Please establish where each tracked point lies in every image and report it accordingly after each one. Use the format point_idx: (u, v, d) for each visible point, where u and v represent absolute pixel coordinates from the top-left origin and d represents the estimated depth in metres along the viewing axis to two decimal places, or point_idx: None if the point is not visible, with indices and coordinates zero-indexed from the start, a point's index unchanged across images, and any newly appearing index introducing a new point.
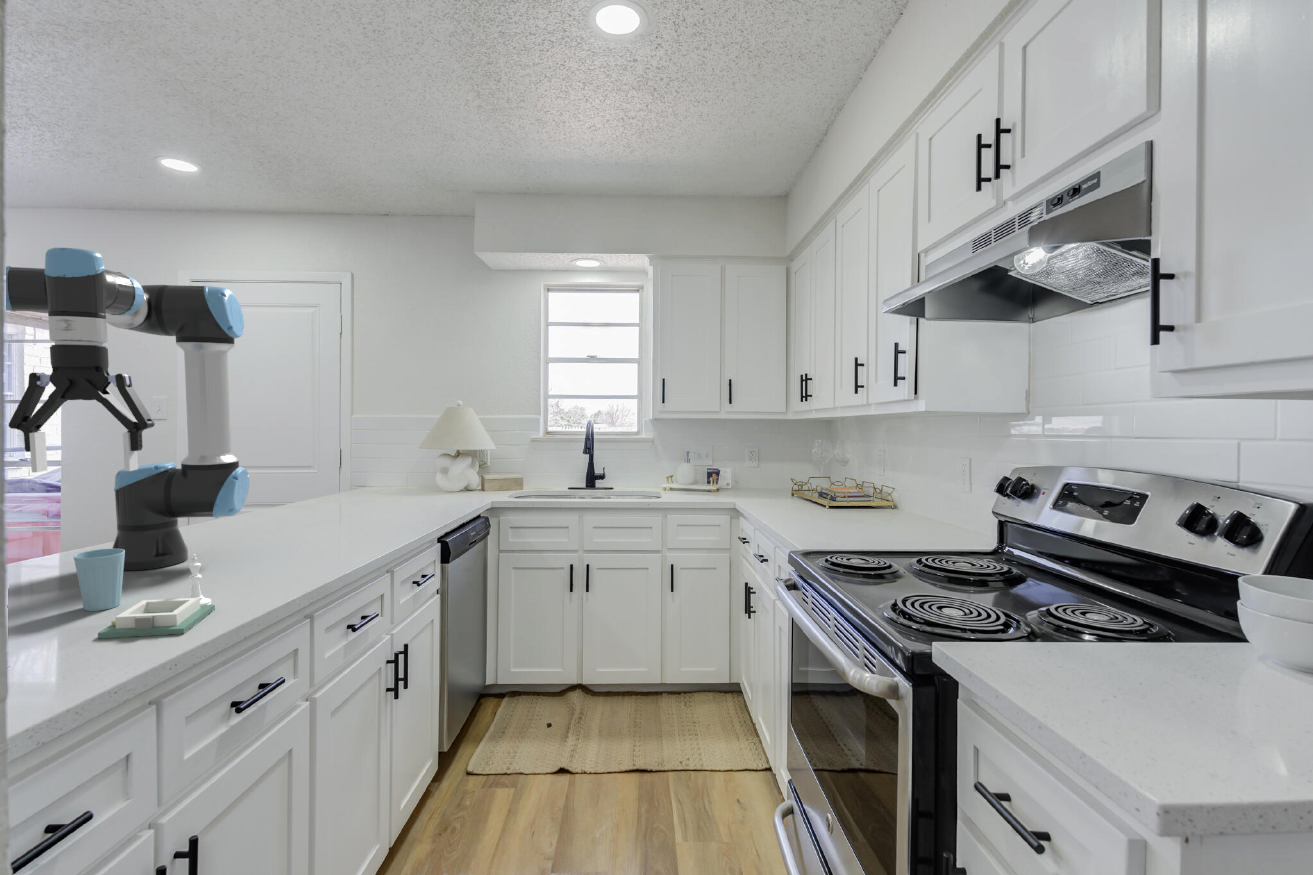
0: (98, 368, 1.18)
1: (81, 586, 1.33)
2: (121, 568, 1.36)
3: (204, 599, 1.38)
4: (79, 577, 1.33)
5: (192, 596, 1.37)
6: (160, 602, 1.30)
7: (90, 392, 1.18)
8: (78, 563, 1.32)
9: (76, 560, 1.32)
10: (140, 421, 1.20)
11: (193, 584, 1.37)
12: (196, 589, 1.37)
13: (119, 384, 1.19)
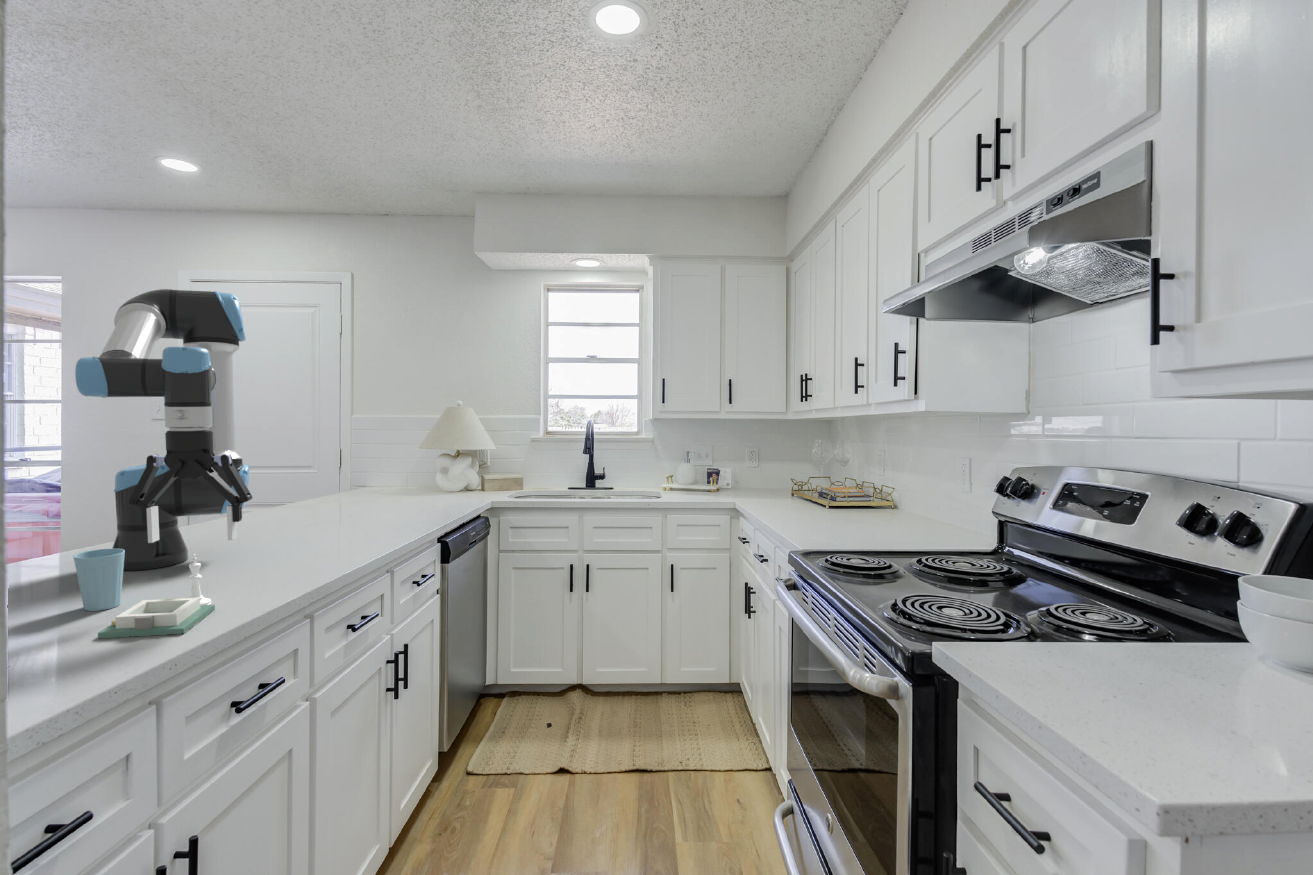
0: (205, 450, 1.35)
1: (81, 586, 1.33)
2: (121, 568, 1.36)
3: (204, 599, 1.38)
4: (79, 577, 1.33)
5: (192, 596, 1.37)
6: (160, 602, 1.30)
7: (199, 471, 1.34)
8: (78, 563, 1.32)
9: (76, 560, 1.32)
10: (241, 496, 1.36)
11: (193, 584, 1.37)
12: (196, 589, 1.37)
13: (224, 464, 1.35)
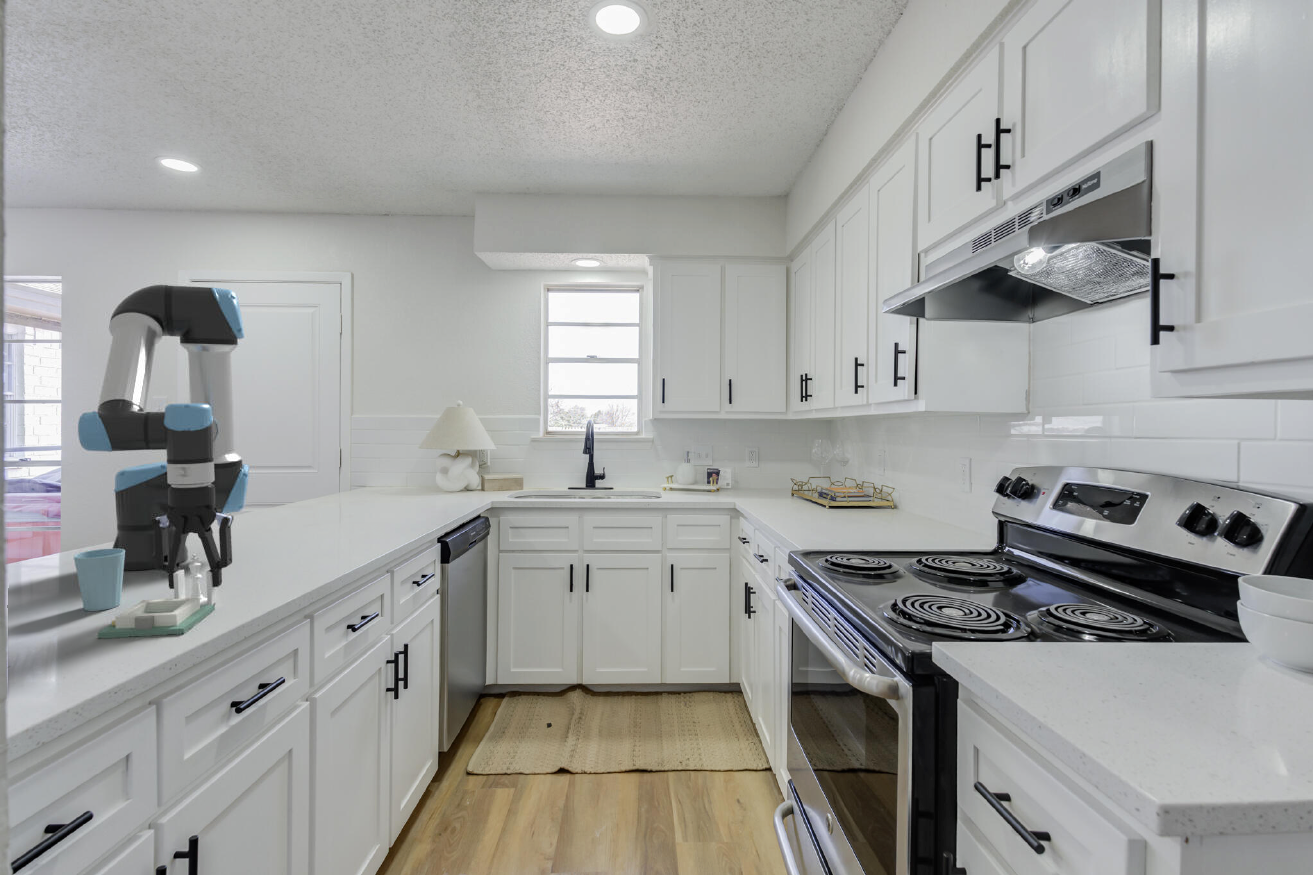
0: (208, 505, 1.36)
1: (81, 586, 1.33)
2: (121, 568, 1.36)
3: (204, 599, 1.38)
4: (79, 577, 1.33)
5: (192, 596, 1.37)
6: (160, 602, 1.30)
7: (197, 528, 1.35)
8: (78, 563, 1.32)
9: (76, 560, 1.32)
10: (223, 560, 1.37)
11: (193, 584, 1.37)
12: (196, 589, 1.37)
13: (222, 525, 1.36)
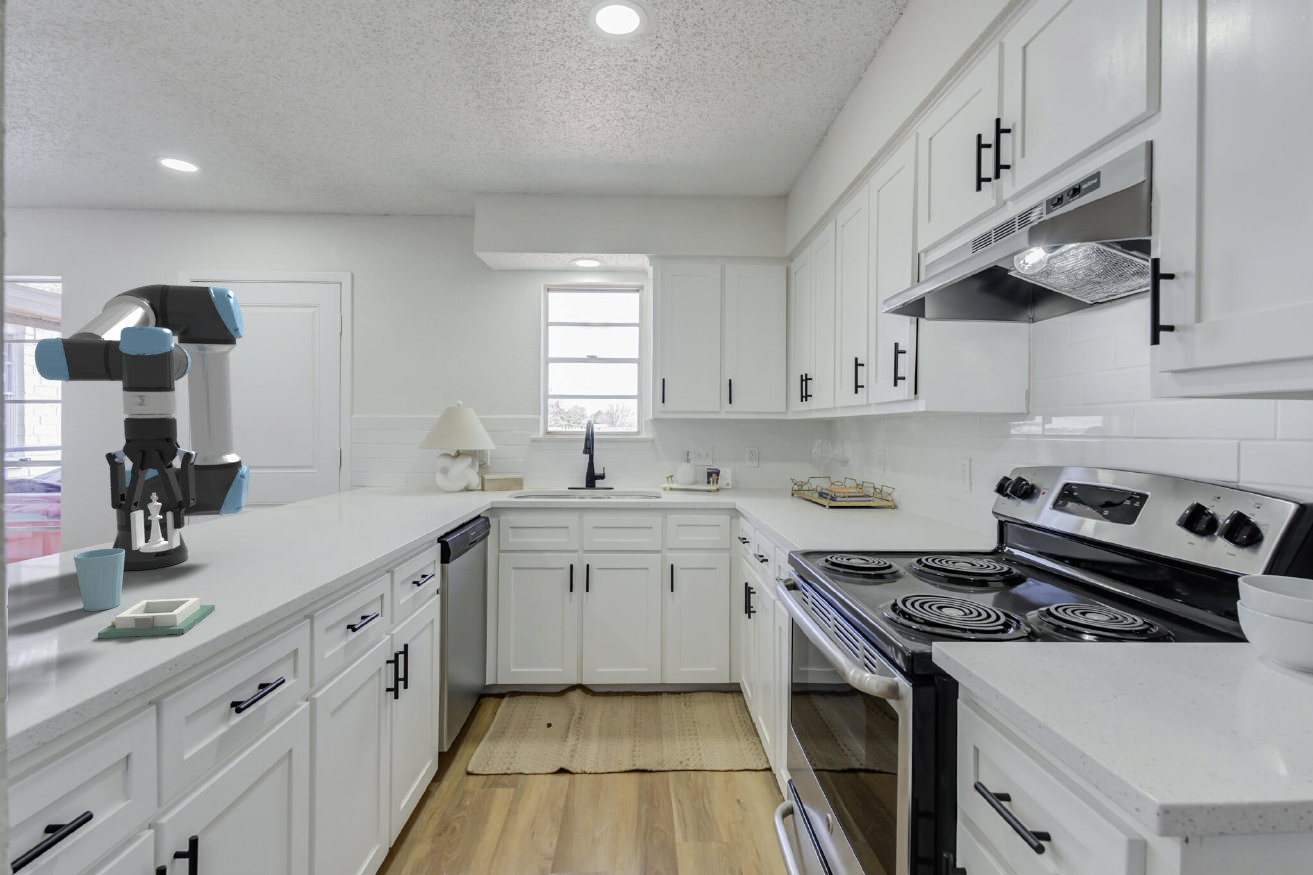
0: (168, 439, 1.24)
1: (81, 586, 1.33)
2: (121, 568, 1.36)
3: (165, 542, 1.26)
4: (79, 577, 1.33)
5: (151, 538, 1.25)
6: (160, 602, 1.30)
7: (156, 463, 1.24)
8: (78, 563, 1.32)
9: (76, 560, 1.32)
10: (185, 500, 1.25)
11: (152, 525, 1.25)
12: (156, 531, 1.25)
13: (184, 461, 1.25)
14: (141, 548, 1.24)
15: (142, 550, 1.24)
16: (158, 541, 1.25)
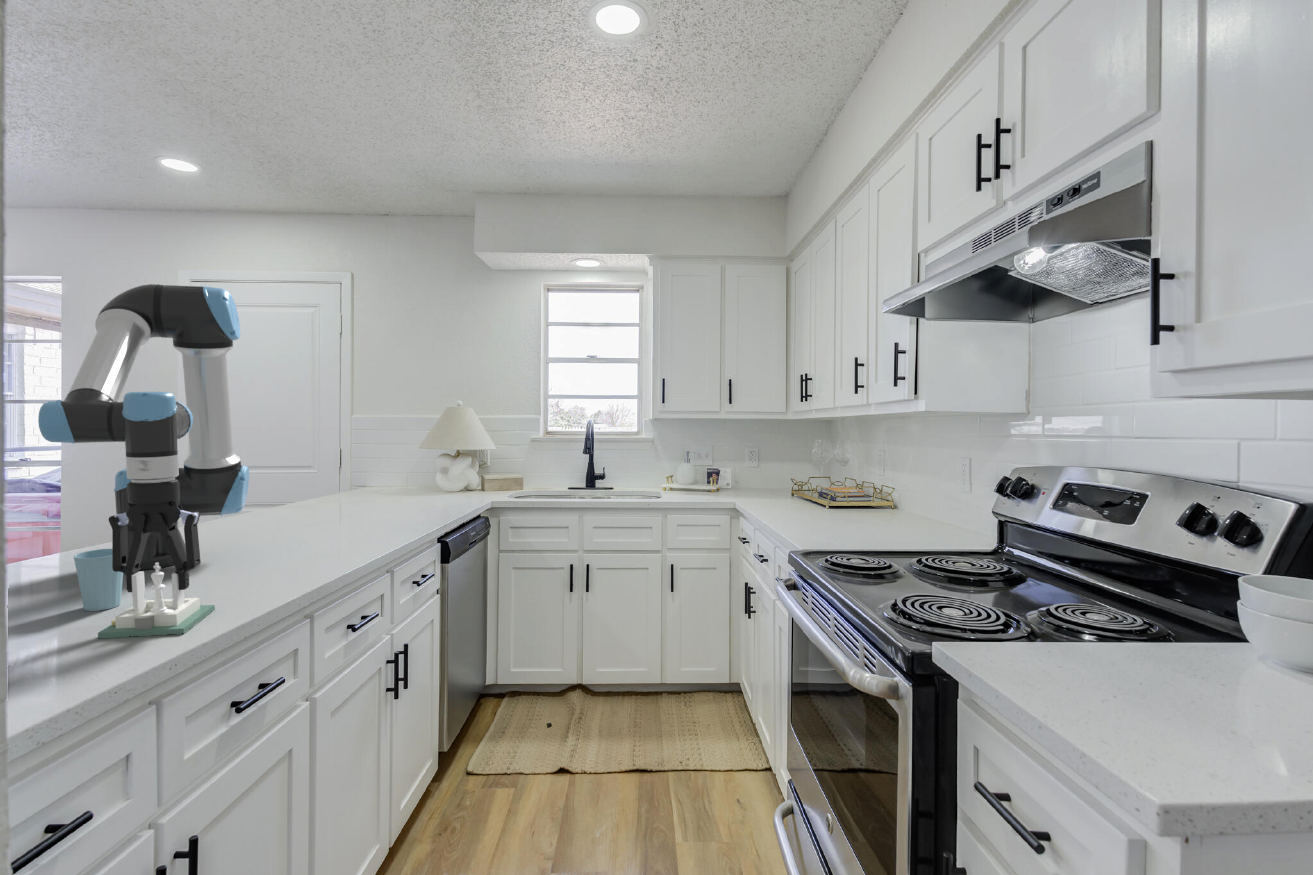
0: (171, 502, 1.25)
1: (81, 586, 1.33)
2: None
3: (168, 611, 1.27)
4: (79, 577, 1.33)
5: (154, 608, 1.26)
6: None
7: (160, 527, 1.25)
8: (78, 563, 1.32)
9: (76, 560, 1.32)
10: (189, 561, 1.26)
11: (155, 595, 1.26)
12: (159, 600, 1.27)
13: (187, 523, 1.26)
14: None
15: None
16: (161, 610, 1.27)
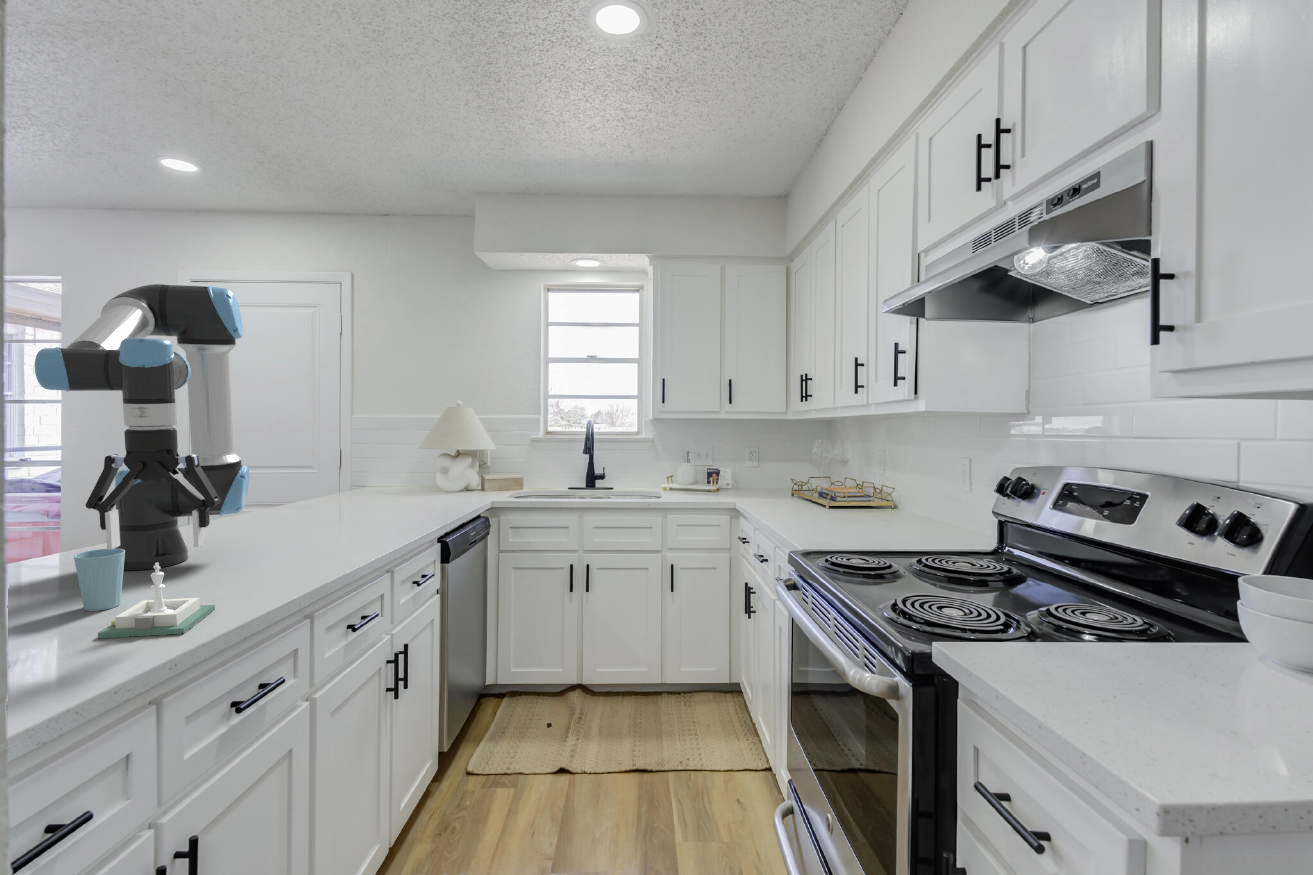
0: (169, 450, 1.24)
1: (81, 586, 1.33)
2: (121, 568, 1.36)
3: (168, 611, 1.27)
4: (79, 577, 1.33)
5: (154, 608, 1.26)
6: None
7: (162, 473, 1.24)
8: (78, 563, 1.32)
9: (76, 560, 1.32)
10: (208, 500, 1.26)
11: (155, 595, 1.26)
12: (159, 600, 1.27)
13: (189, 465, 1.25)
14: None
15: None
16: (161, 610, 1.27)
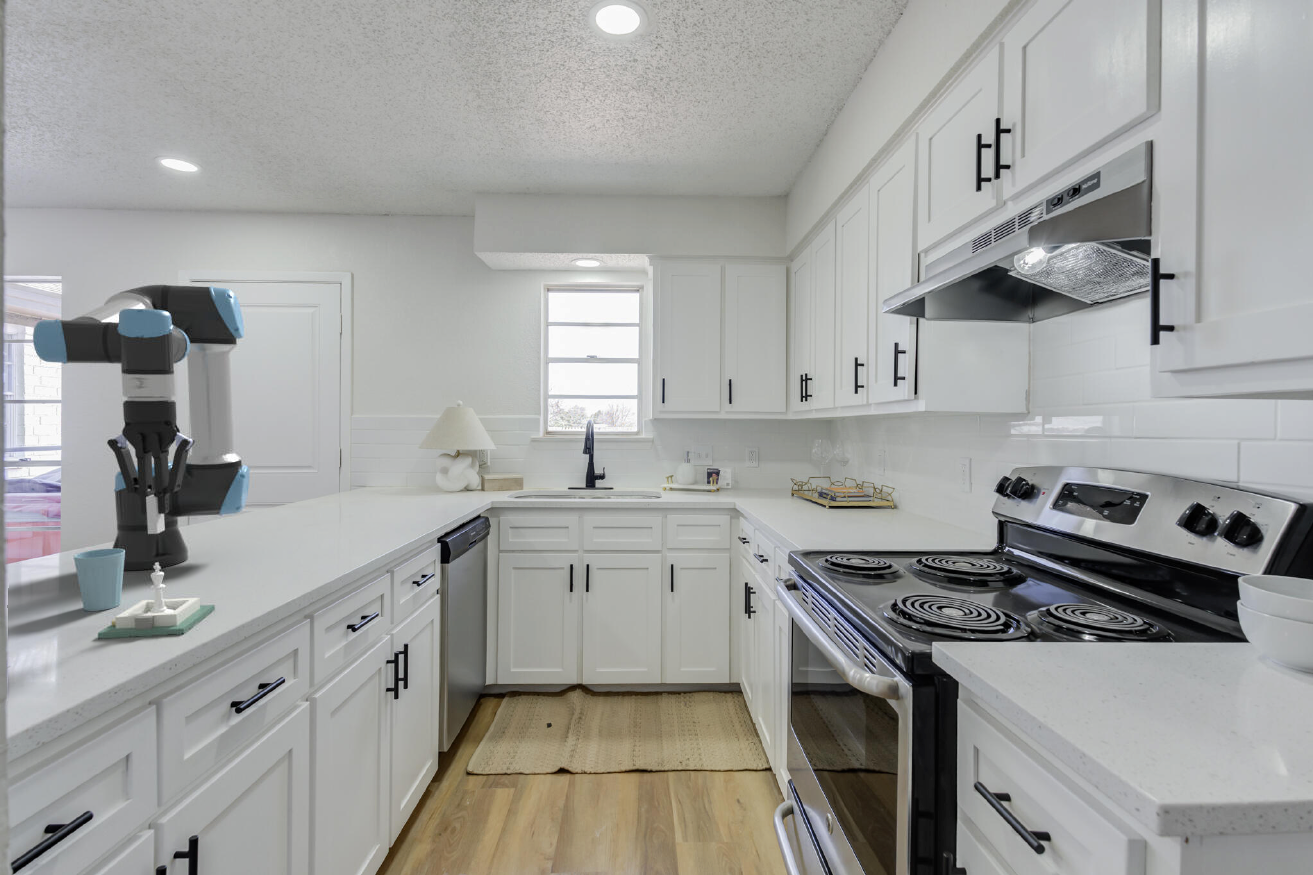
0: (167, 422, 1.24)
1: (81, 586, 1.33)
2: (121, 568, 1.36)
3: (168, 611, 1.27)
4: (79, 577, 1.33)
5: (154, 608, 1.26)
6: None
7: (153, 446, 1.23)
8: (78, 563, 1.32)
9: (76, 560, 1.32)
10: (170, 485, 1.25)
11: (155, 595, 1.26)
12: (159, 600, 1.27)
13: (180, 447, 1.25)
14: None
15: None
16: (161, 610, 1.27)
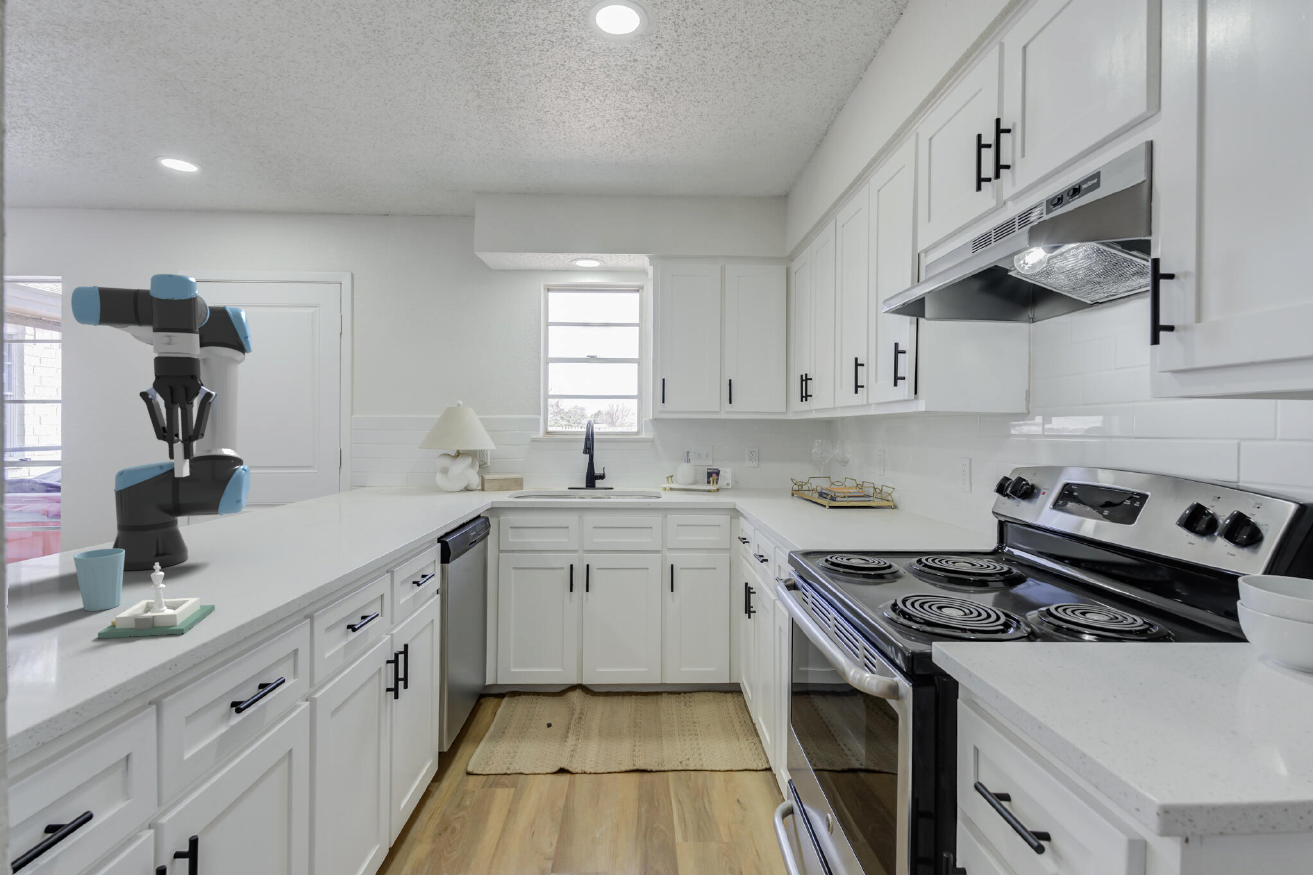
0: (193, 376, 1.39)
1: (81, 586, 1.33)
2: (121, 568, 1.36)
3: (168, 611, 1.27)
4: (79, 577, 1.33)
5: (154, 608, 1.26)
6: None
7: (180, 398, 1.38)
8: (78, 563, 1.32)
9: (76, 560, 1.32)
10: (195, 433, 1.39)
11: (155, 595, 1.26)
12: (159, 600, 1.27)
13: (204, 399, 1.39)
14: None
15: None
16: (161, 610, 1.27)
